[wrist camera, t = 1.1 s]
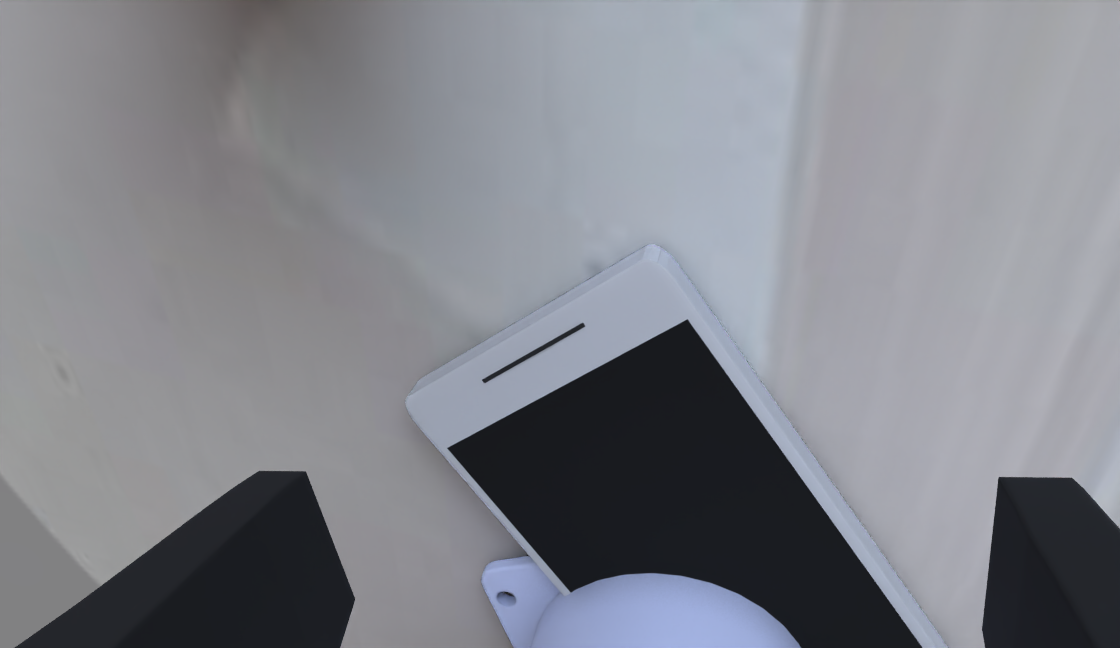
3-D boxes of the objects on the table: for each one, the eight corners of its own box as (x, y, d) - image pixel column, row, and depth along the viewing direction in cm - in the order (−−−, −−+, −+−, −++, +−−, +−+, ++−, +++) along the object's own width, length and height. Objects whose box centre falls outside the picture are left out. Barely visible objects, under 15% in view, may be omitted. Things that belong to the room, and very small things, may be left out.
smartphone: (752, 788, 25) (752, 819, 25) (409, 383, 21) (395, 405, 20) (1002, 722, 22) (1011, 755, 22) (660, 235, 18) (655, 253, 17)
